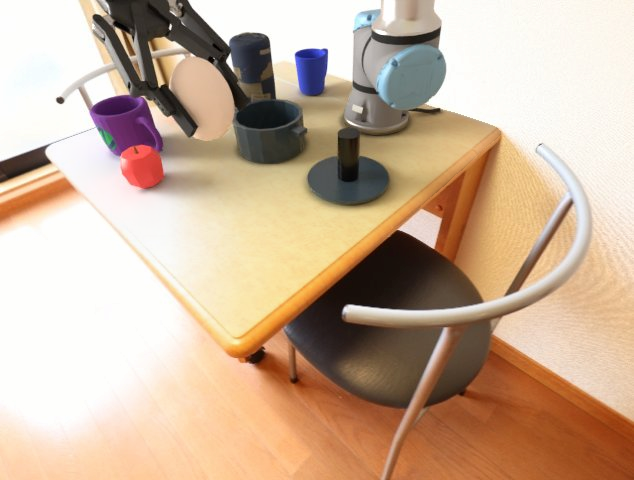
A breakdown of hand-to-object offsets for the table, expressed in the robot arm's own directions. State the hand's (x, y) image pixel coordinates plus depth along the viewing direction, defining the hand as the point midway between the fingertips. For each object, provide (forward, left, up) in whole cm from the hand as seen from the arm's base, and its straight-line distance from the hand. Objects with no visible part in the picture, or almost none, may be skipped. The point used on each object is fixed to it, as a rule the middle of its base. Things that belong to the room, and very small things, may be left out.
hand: (220, 118), depth 51 cm
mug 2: (-26, -50, -19) cm, 59 cm away
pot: (-9, -23, -19) cm, 31 cm away
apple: (+17, -17, -19) cm, 31 cm away
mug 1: (+19, -30, -19) cm, 40 cm away
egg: (+2, -3, -4) cm, 5 cm away
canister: (-9, -43, -19) cm, 48 cm away
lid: (-21, -5, -18) cm, 28 cm away
